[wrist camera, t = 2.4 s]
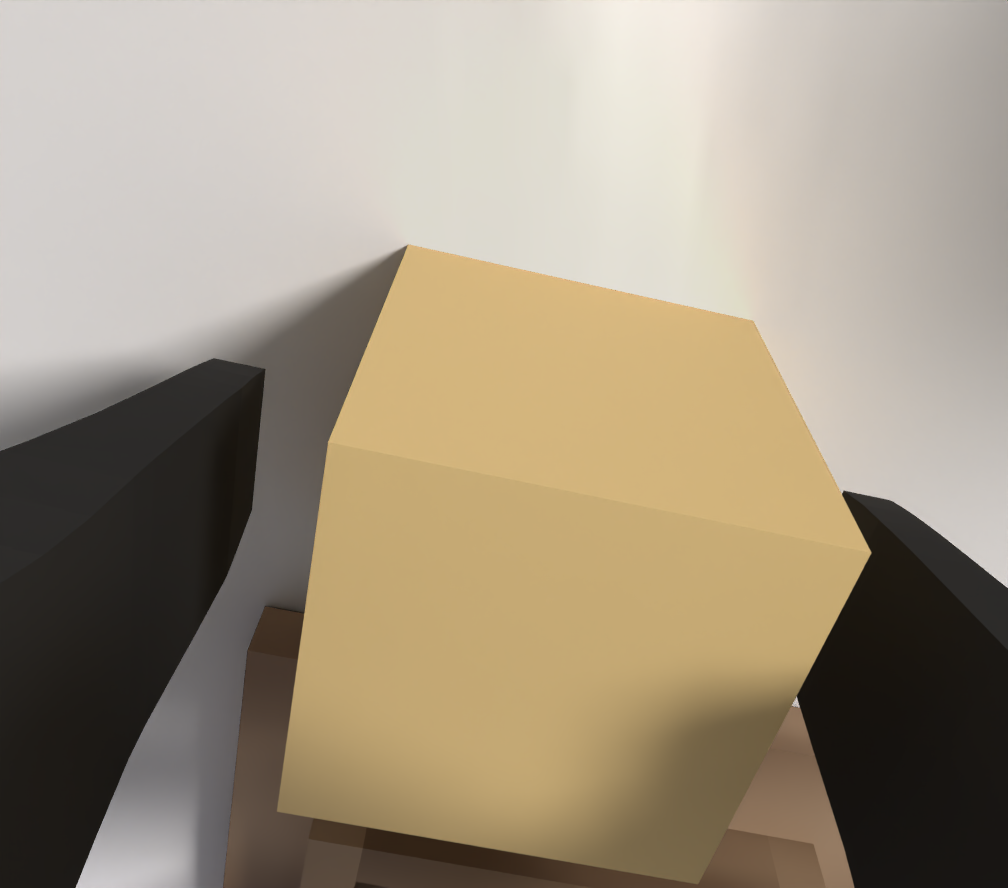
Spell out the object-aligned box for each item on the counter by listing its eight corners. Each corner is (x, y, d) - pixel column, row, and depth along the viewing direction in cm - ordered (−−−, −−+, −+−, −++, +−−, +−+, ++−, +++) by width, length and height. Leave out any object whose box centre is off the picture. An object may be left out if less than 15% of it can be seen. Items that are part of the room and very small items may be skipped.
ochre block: (650, 585, 14) (697, 884, 10) (360, 528, 14) (277, 812, 9) (751, 319, 12) (871, 552, 8) (409, 242, 12) (327, 441, 7)
